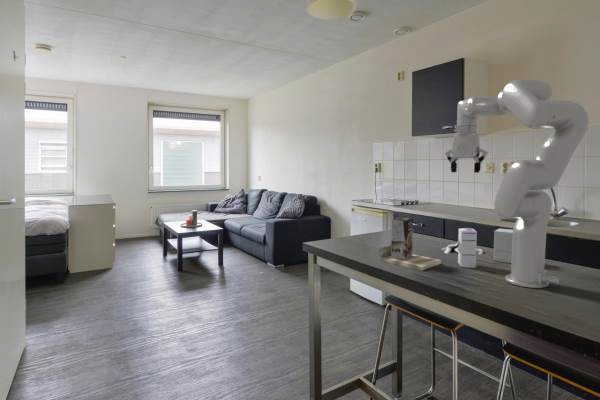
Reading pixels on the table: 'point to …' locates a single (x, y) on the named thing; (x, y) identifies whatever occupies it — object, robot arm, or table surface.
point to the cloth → (455, 248)
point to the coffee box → (402, 238)
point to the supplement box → (503, 245)
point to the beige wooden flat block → (410, 262)
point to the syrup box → (467, 247)
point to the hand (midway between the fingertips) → (465, 172)
